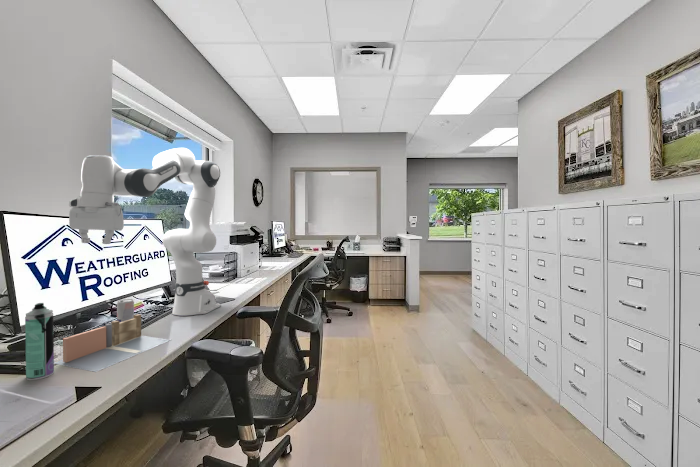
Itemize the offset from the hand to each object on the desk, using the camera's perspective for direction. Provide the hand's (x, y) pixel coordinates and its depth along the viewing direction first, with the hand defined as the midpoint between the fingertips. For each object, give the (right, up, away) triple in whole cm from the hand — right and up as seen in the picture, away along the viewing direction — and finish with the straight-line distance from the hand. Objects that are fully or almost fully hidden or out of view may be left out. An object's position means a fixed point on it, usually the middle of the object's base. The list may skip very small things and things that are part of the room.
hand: (95, 243), depth 109 cm
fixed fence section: (+7, -34, +4) cm, 35 cm away
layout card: (+10, -35, -4) cm, 37 cm away
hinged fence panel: (+4, -34, -7) cm, 35 cm away
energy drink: (0, -35, +15) cm, 37 cm away
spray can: (+2, -36, -21) cm, 42 cm away
